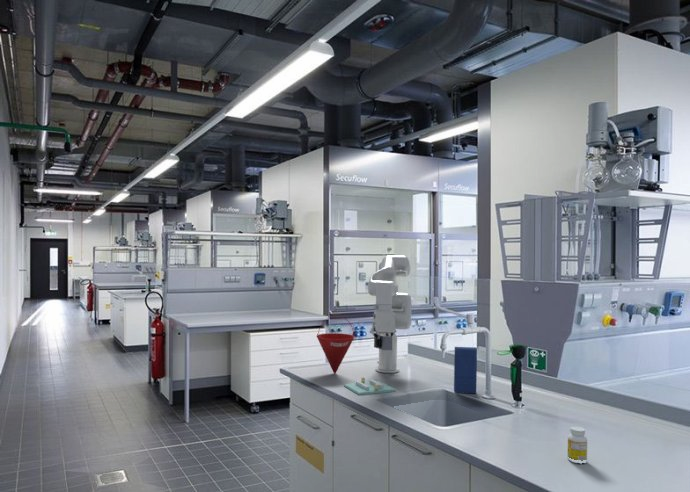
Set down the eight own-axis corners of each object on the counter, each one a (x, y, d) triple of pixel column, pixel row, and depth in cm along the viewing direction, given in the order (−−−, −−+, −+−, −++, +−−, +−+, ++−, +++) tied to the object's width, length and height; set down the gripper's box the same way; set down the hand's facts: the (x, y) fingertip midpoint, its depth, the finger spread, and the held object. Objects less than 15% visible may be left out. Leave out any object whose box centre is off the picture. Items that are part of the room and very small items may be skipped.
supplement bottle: (584, 466, 148) (584, 433, 149) (565, 461, 152) (565, 428, 152) (589, 460, 152) (589, 428, 153) (570, 456, 156) (570, 424, 156)
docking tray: (344, 386, 235) (344, 378, 235) (378, 383, 242) (378, 375, 242) (359, 395, 220) (359, 386, 220) (395, 391, 228) (395, 383, 228)
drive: (374, 347, 242) (374, 334, 242) (381, 346, 244) (381, 334, 244) (384, 350, 233) (384, 336, 233) (392, 350, 235) (392, 336, 235)
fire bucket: (323, 379, 246) (325, 317, 247) (307, 371, 264) (309, 313, 264) (362, 375, 256) (363, 316, 257) (344, 367, 274) (345, 312, 274)
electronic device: (474, 391, 231) (475, 347, 231) (476, 394, 225) (477, 349, 226) (453, 390, 231) (454, 346, 232) (454, 393, 226) (455, 348, 227)
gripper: (371, 308, 232) (370, 349, 231) (403, 308, 239) (402, 347, 238) (364, 307, 239) (363, 346, 238) (394, 307, 246) (394, 345, 245)
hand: (382, 346), depth 238 cm, fingers closed on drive, 4 cm apart
